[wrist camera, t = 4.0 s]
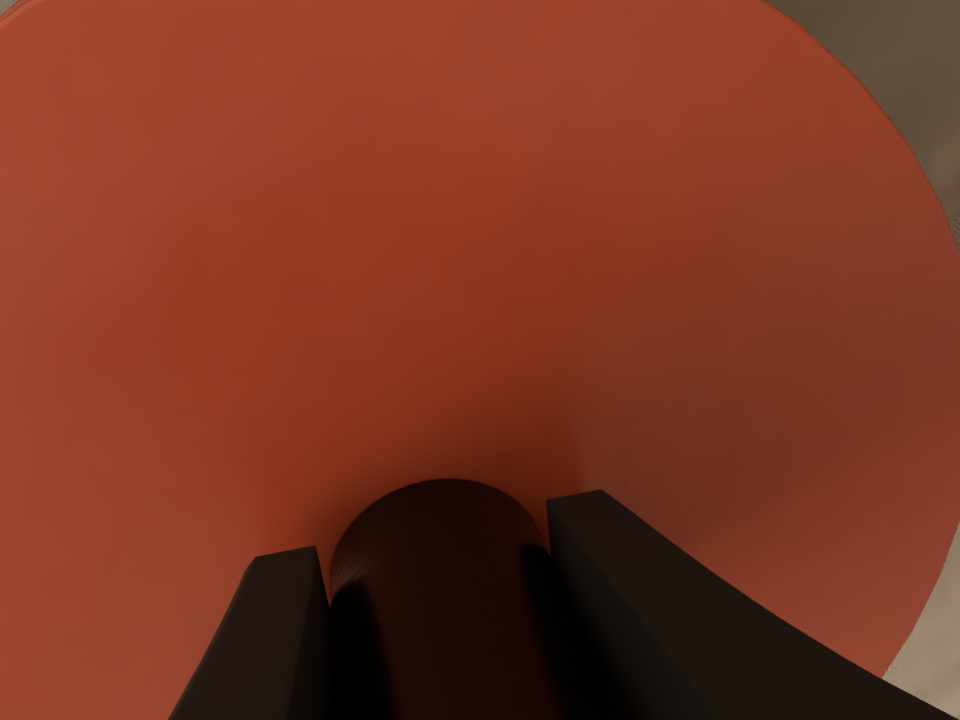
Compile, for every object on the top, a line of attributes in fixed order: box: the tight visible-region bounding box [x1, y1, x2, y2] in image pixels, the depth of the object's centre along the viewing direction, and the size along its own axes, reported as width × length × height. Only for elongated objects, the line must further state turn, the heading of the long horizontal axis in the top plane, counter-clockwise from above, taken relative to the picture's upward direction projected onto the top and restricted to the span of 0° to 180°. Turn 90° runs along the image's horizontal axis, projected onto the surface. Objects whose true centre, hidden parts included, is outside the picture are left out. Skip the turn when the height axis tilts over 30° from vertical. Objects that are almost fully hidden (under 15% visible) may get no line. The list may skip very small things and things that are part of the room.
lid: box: [0, 0, 960, 720], centre depth 8 cm, size 13×13×4 cm
